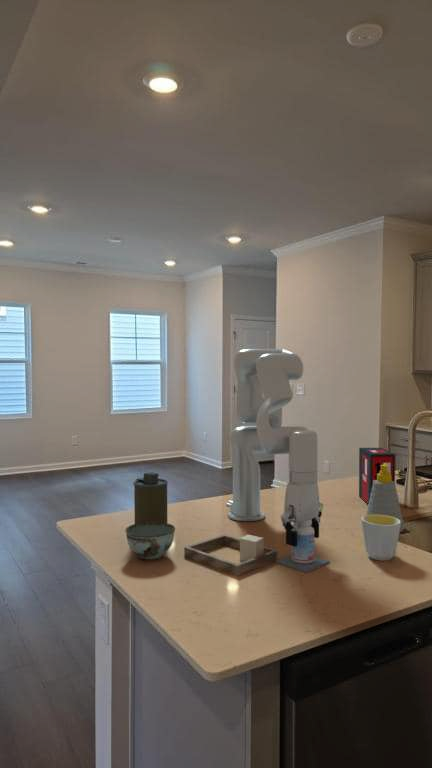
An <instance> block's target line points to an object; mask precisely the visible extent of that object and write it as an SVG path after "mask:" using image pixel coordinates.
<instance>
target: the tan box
mask: <svg viewBox="0 0 432 768" xmlns="http://www.w3.org/2000/svg"><path fill="white" fill-rule="evenodd" d="M239 539H240V549H239V561H242V562H244V561H247V560H249V559H252V558H255V557H257V556H260V555H263V554H264V547H265V546H264V537H261V536H256V535H251V534H246V535H244V536H242V537H240V538H239Z"/></svg>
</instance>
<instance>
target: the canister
mask: <svg viewBox="0 0 432 768" xmlns="http://www.w3.org/2000/svg"><path fill="white" fill-rule="evenodd" d="M159 476H160V474H159V473H156V472H154V471H150V472H145V473H143V477H141V478H140V477H139V478H136V480H135V481H134V482H133V483H132V484H133V486H134V488H133V489H134V492H133V493H134V494H133V495H134V502H133V503H134V524H137V523H144V522H163V523H168V484H169V481H168V480H167V479H163V478H159Z"/></svg>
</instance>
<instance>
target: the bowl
mask: <svg viewBox="0 0 432 768" xmlns="http://www.w3.org/2000/svg"><path fill="white" fill-rule="evenodd" d="M124 530H125V533H126V540H127V545H128V546H129V548H130V550H131V551H132V552H133V553H134V554H135V555H137V556H138V558H139V559H140V560H141V561H144V562H153V561H154V562H155V561H158V560H160V559H161V558H162V557H163V555H164V554H165V553H167V552H168V550H170V548H171V547H172V544H173V542H174V537H175V531H176V526H174V524H171V523H169V522H167V523H163V522H144V523H137V524H135V523H134V524H131V525H129V526H128V527H126V528H125V529H124Z"/></svg>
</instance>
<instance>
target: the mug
mask: <svg viewBox="0 0 432 768" xmlns="http://www.w3.org/2000/svg"><path fill="white" fill-rule="evenodd" d="M361 525H362V532H363V533H362V534H363V539H364V540H363V541H364V547H365V552H366V554H367V555H368V556H369V558H370V559H373V560H375V561H380V562H385V561H387V562H388V561H390V560H391V559H392V558H394V557H395V556H396V554H397V547H398V541H399V537H400V532H399V531H400V525H401V521H400V520H399V519H397V518H395V517H391V516H386V515H367V514H366V515H363V516H362V517H361Z"/></svg>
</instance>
